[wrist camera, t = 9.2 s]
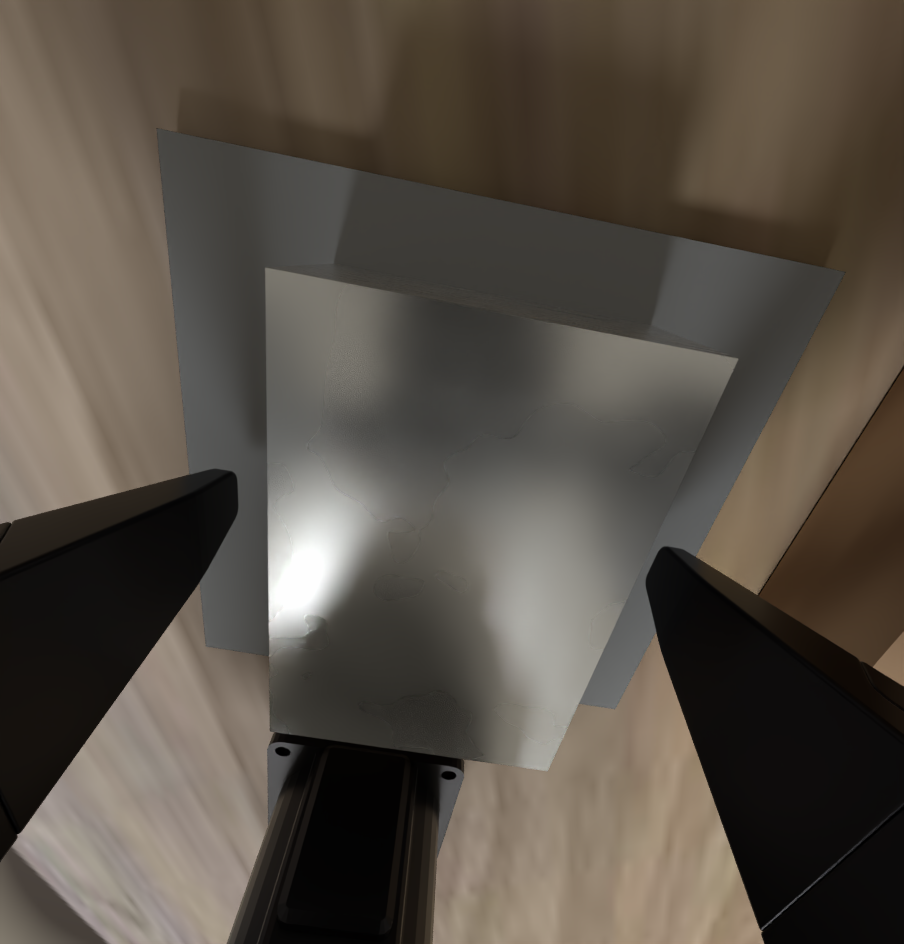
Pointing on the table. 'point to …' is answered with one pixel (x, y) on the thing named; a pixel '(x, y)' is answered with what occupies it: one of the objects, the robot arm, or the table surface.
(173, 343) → the table surface
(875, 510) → the plane body
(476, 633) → the lever cap
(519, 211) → the rubber mat
